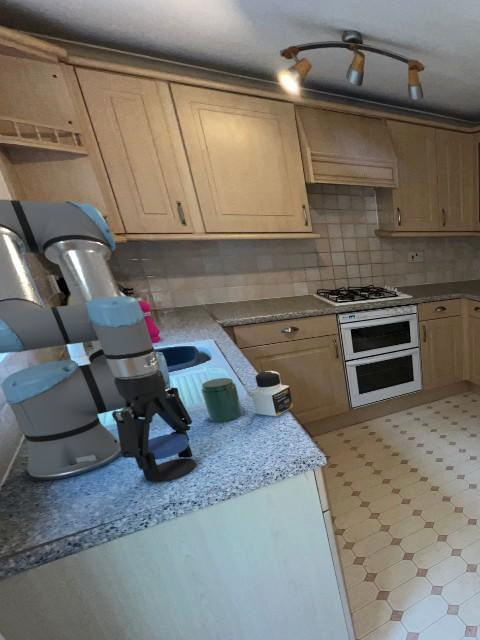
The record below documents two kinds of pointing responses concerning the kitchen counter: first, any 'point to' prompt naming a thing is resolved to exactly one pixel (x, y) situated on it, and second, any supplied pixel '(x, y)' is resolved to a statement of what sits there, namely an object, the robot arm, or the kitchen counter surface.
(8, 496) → the kitchen counter surface
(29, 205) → the robot arm
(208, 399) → the jam jar
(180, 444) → the jam lid
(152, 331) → the pepper mill
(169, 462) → the rubber mat
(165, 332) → the kitchen counter surface
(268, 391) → the medicine bottle
